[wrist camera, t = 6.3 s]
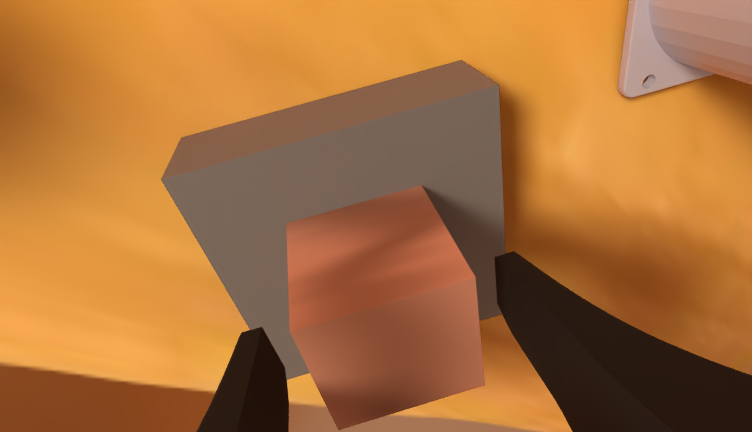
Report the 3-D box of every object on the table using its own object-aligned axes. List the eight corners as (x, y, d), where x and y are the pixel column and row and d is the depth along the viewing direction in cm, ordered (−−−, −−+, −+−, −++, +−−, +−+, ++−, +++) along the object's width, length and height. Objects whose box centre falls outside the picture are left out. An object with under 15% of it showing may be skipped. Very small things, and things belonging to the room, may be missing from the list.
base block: (461, 60, 15) (498, 84, 12) (479, 267, 20) (507, 312, 18) (181, 138, 14) (161, 179, 12) (280, 326, 20) (280, 381, 17)
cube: (421, 185, 14) (475, 277, 10) (437, 282, 16) (484, 384, 12) (286, 223, 13) (289, 332, 10) (324, 316, 16) (338, 430, 12)
